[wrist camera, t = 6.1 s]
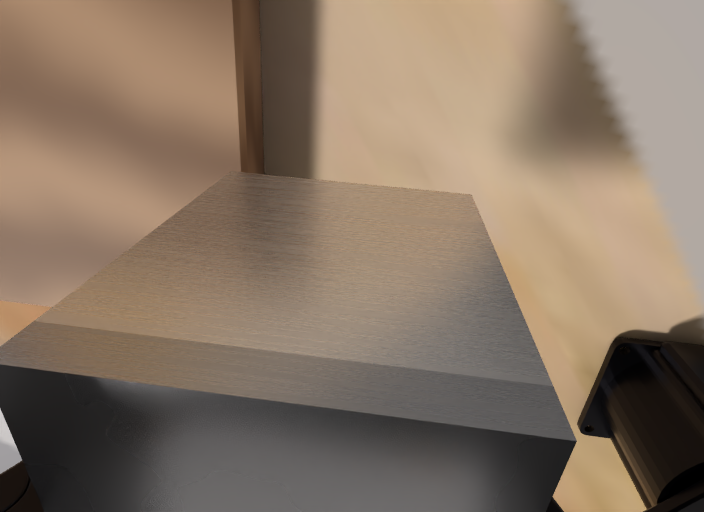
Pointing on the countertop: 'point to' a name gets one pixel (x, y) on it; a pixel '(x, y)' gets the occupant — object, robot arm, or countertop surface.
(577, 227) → the countertop surface
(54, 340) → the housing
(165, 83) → the stand
